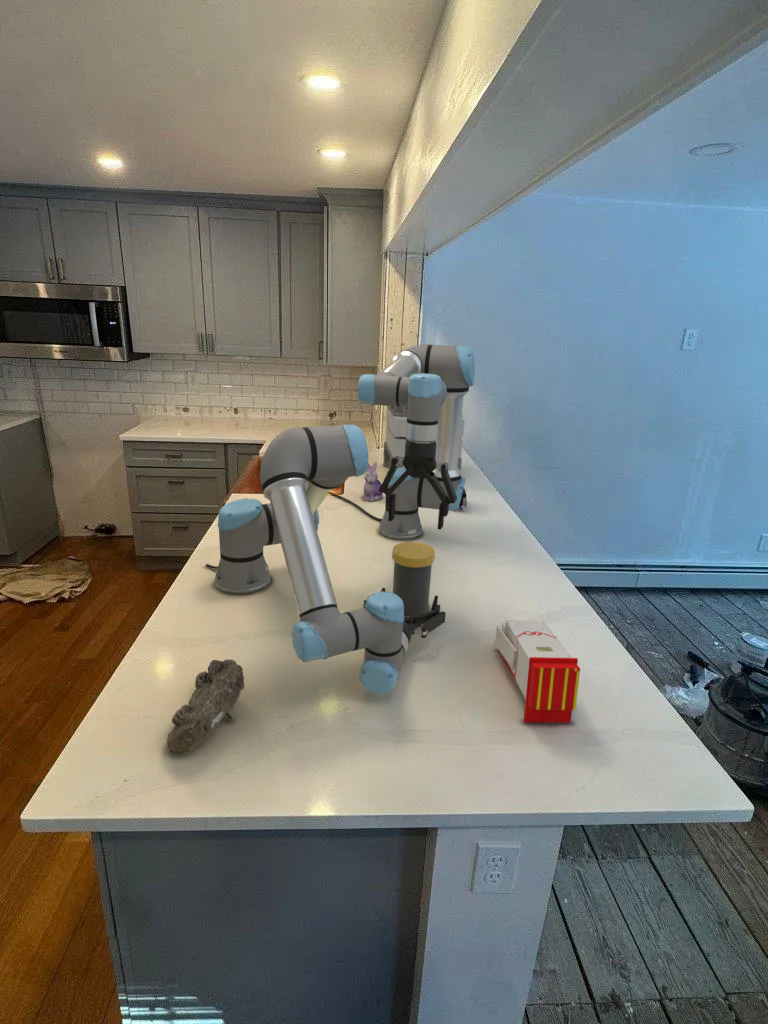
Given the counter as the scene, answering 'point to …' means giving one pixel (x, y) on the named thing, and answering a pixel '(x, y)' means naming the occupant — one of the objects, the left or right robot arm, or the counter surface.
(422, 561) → the lid
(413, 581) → the jar
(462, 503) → the figurine character
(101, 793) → the counter surface
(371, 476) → the figurine
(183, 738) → the fossil
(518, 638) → the toy
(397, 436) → the grey slatted crate
